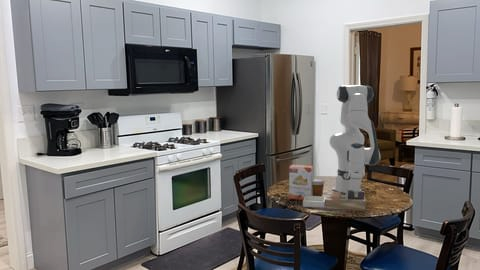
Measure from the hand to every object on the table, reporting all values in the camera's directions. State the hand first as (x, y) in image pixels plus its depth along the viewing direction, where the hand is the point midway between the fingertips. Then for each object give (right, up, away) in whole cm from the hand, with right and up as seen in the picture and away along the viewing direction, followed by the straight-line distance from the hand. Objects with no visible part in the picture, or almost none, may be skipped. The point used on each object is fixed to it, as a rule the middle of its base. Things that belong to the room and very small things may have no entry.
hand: (356, 195), depth 230 cm
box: (-23, -6, +7) cm, 24 cm away
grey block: (-1, -1, 0) cm, 1 cm away
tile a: (-10, -1, +6) cm, 11 cm away
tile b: (-11, -2, +1) cm, 11 cm away
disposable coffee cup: (-19, -5, +19) cm, 27 cm away
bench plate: (-6, -6, +2) cm, 9 cm away
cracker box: (-29, -5, +19) cm, 35 cm away
